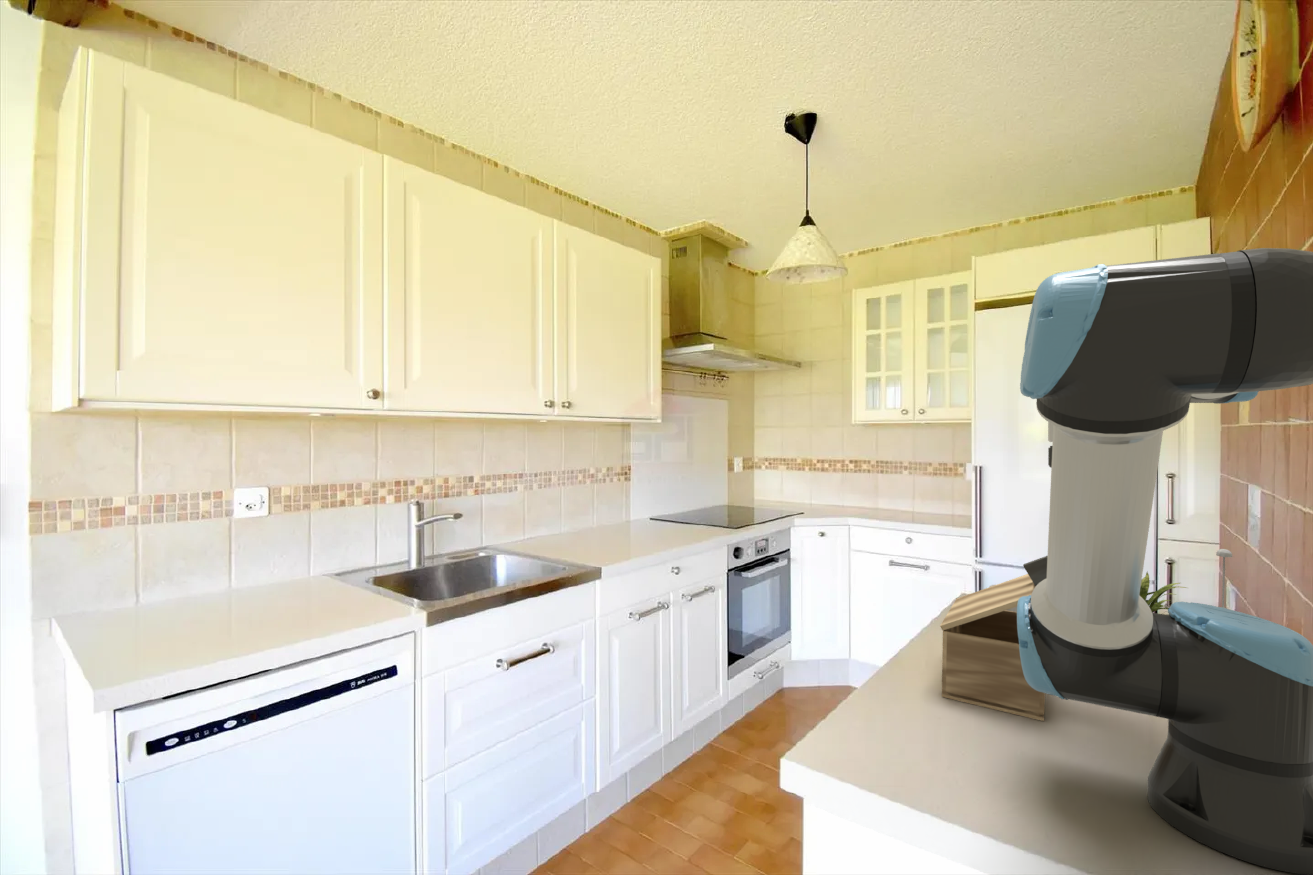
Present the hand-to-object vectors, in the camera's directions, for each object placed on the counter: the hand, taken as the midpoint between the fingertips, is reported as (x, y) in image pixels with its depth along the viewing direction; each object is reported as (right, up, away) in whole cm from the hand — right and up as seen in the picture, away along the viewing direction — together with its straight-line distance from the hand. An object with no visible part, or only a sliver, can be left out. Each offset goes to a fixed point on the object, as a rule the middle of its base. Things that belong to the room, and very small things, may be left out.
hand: (1075, 590), depth 94 cm
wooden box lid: (-5, -3, +4) cm, 7 cm away
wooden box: (-9, -18, +6) cm, 21 cm away
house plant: (+30, -19, +22) cm, 41 cm away
